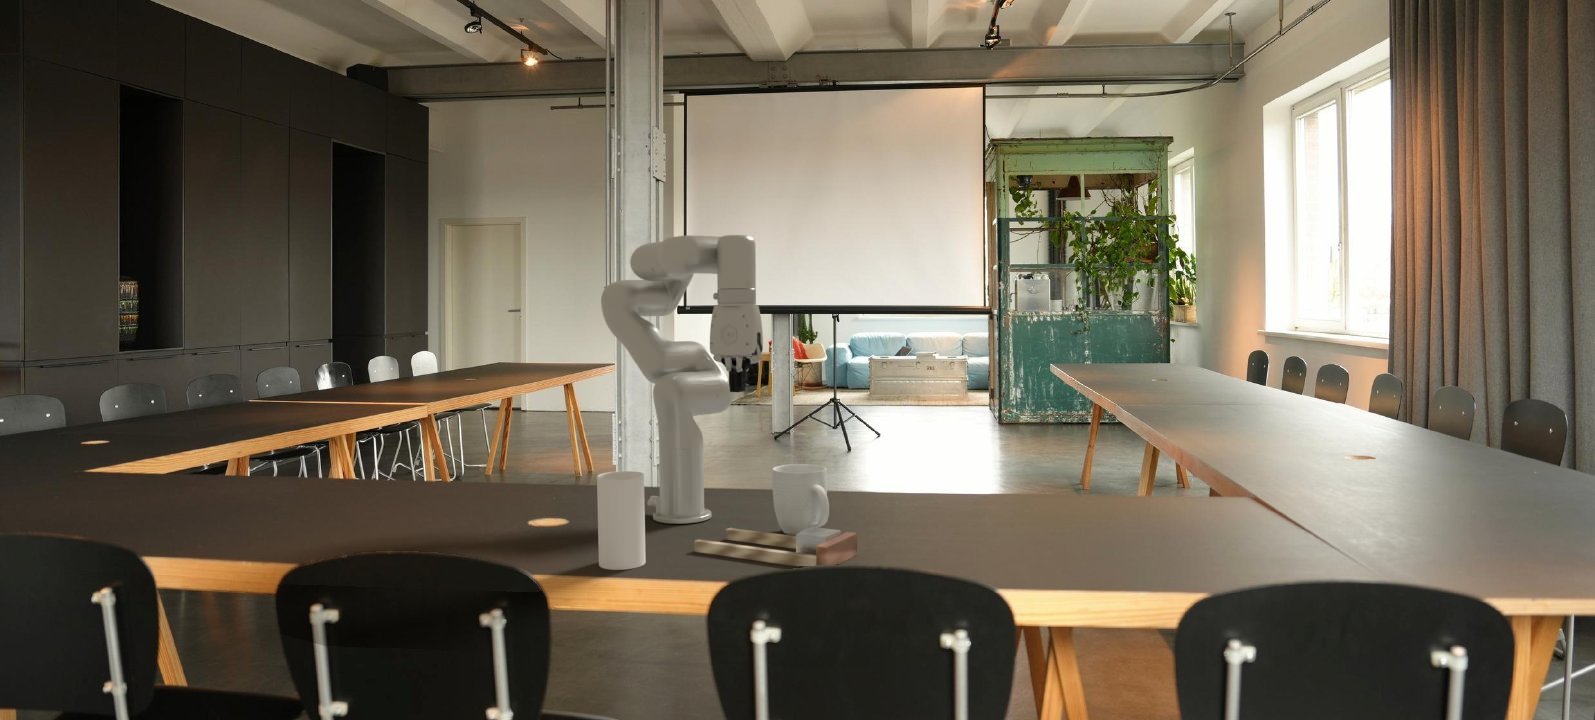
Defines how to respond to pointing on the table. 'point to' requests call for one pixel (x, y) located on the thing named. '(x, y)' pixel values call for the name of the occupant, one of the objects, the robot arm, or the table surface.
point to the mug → (800, 497)
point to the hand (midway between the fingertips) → (737, 391)
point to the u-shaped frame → (825, 553)
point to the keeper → (814, 539)
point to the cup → (621, 520)
